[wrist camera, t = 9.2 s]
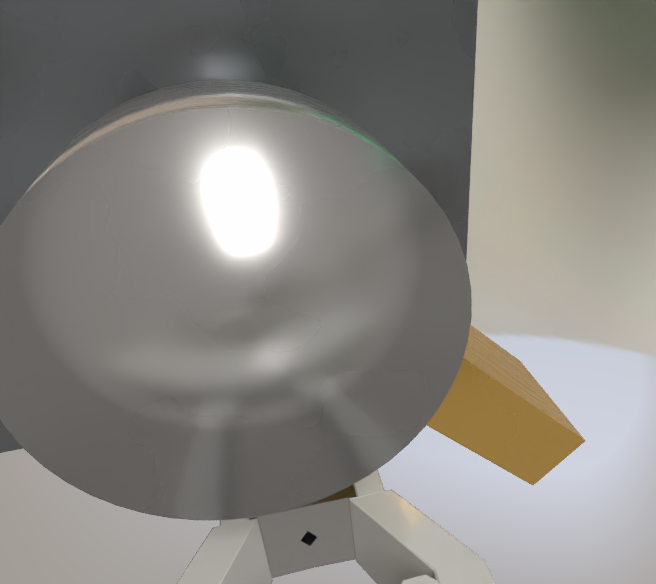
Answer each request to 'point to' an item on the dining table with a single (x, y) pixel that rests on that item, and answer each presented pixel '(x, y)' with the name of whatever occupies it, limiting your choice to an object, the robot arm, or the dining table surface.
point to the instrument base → (244, 75)
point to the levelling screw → (245, 312)
